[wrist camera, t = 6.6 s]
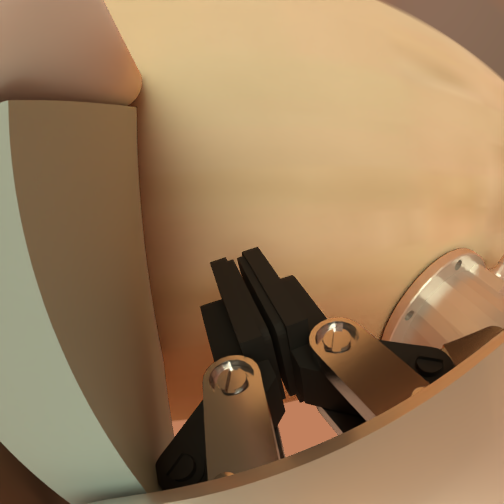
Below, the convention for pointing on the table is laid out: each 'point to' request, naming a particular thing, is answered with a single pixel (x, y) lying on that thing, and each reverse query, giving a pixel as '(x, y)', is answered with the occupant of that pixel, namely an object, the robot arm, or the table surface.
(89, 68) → the grey panel
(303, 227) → the table surface
